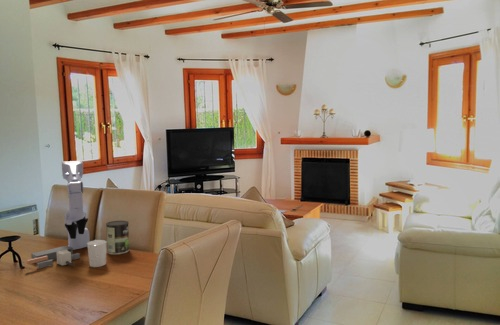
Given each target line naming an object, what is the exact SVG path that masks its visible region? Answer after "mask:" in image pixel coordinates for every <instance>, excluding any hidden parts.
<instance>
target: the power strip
mask: <svg viewBox="0 0 500 325" xmlns="http://www.w3.org/2000/svg"><path fill="white" fill-rule="evenodd" d="M63 250H68V251H69V252H71V261H73V260H78V259H81V253H80V252H76V253H74V250H73V248H72V247H69V246H68V244H67V245H62V246H59V247H54V248H51V249H49V248H48V249H45V250H41V251H36V252H32V253H30V254H31V255H30V257H31V259H34V258H39V257H43V256H48V260H44V261H40V262H36V263H35V264H36V265H37V267H36V268H37V269H38V270H39V269H42V268H47V267H51V266H54V261H55V260H57V254H56V252H59V251H63Z"/></svg>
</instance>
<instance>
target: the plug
mask: <svg viewBox="0 0 500 325" xmlns="http://www.w3.org/2000/svg"><path fill="white" fill-rule="evenodd" d="M56 254H57V259H56V264H58V265H60V266H66V265H68V266H71V267H75V266H76V264H74V263H72V260H71V252H69V251H68V250H63V251H59V252H56Z"/></svg>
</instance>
